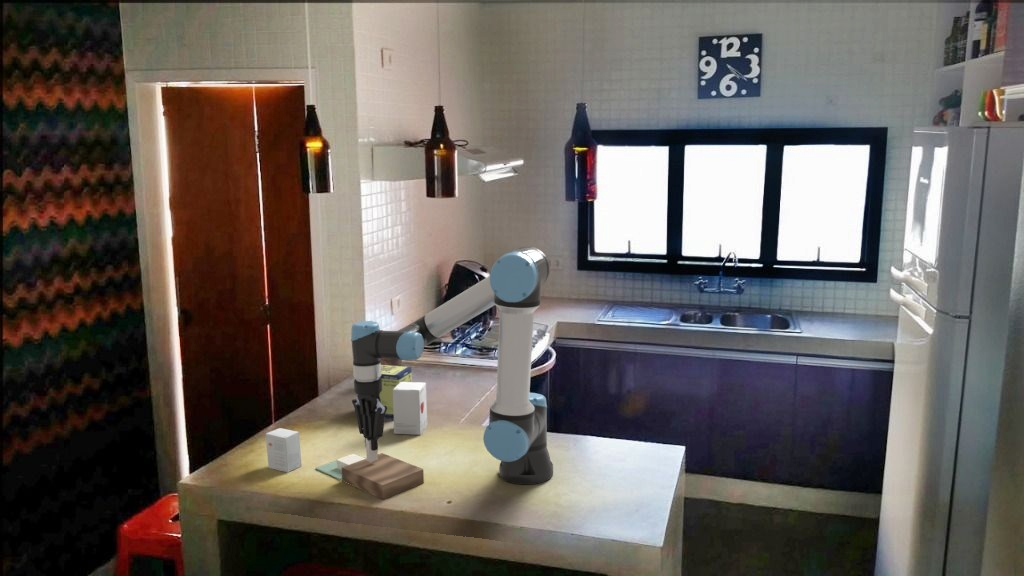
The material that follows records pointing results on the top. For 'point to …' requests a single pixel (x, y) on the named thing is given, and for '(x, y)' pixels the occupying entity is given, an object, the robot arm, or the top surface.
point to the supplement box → (410, 408)
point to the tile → (348, 460)
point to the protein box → (392, 384)
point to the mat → (332, 469)
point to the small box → (283, 450)
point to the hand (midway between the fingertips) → (372, 460)
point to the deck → (383, 476)
